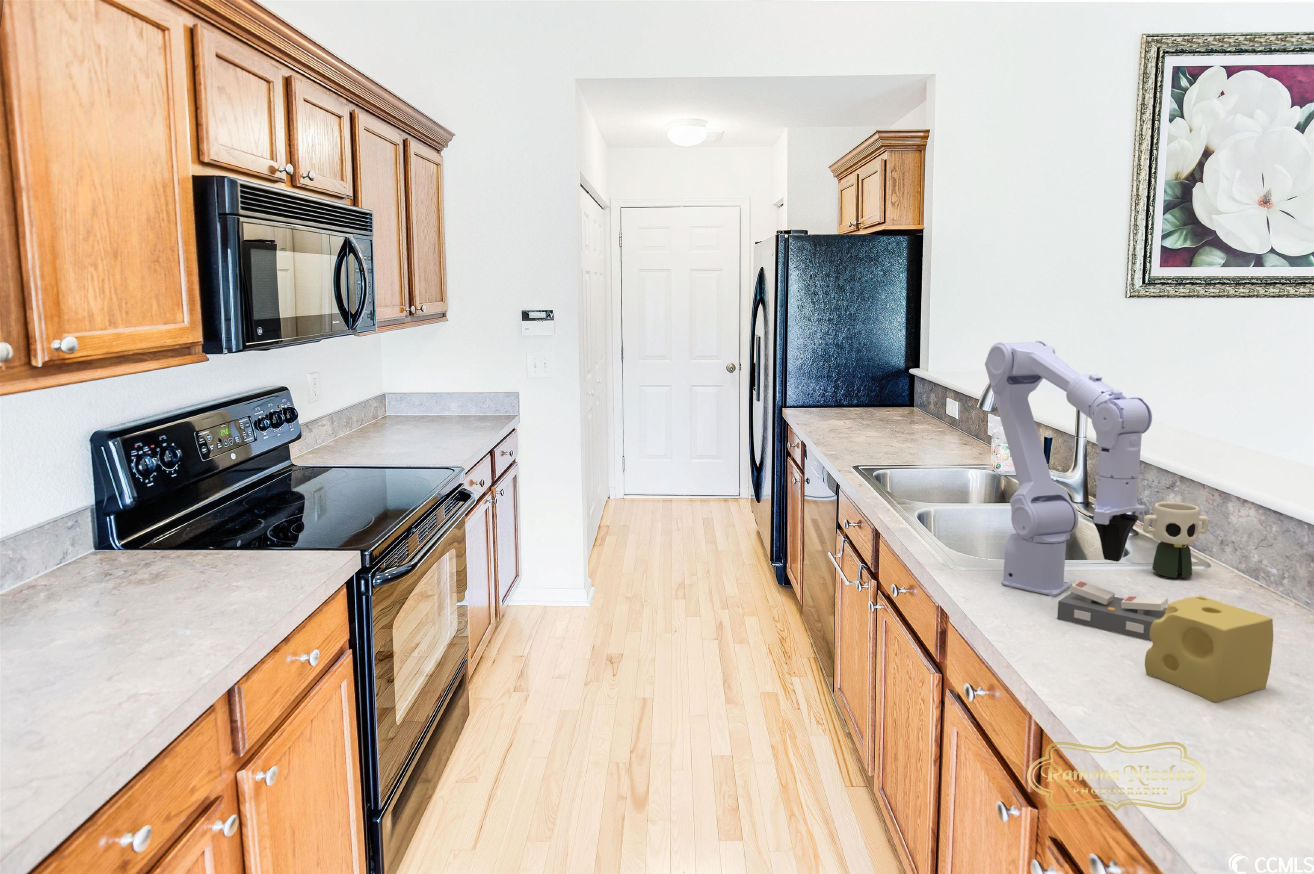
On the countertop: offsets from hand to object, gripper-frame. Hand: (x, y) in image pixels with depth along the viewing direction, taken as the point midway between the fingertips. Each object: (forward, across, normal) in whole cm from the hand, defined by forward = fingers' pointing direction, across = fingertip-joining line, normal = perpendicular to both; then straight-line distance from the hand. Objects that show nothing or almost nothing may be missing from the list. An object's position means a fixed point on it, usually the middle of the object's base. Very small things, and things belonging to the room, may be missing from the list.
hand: (1112, 559), depth 138 cm
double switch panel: (+10, -2, -2) cm, 10 cm away
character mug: (+10, +30, -2) cm, 31 cm away
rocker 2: (+5, -2, -6) cm, 8 cm away
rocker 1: (+5, -2, +2) cm, 6 cm away
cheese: (+10, -17, -17) cm, 26 cm away
